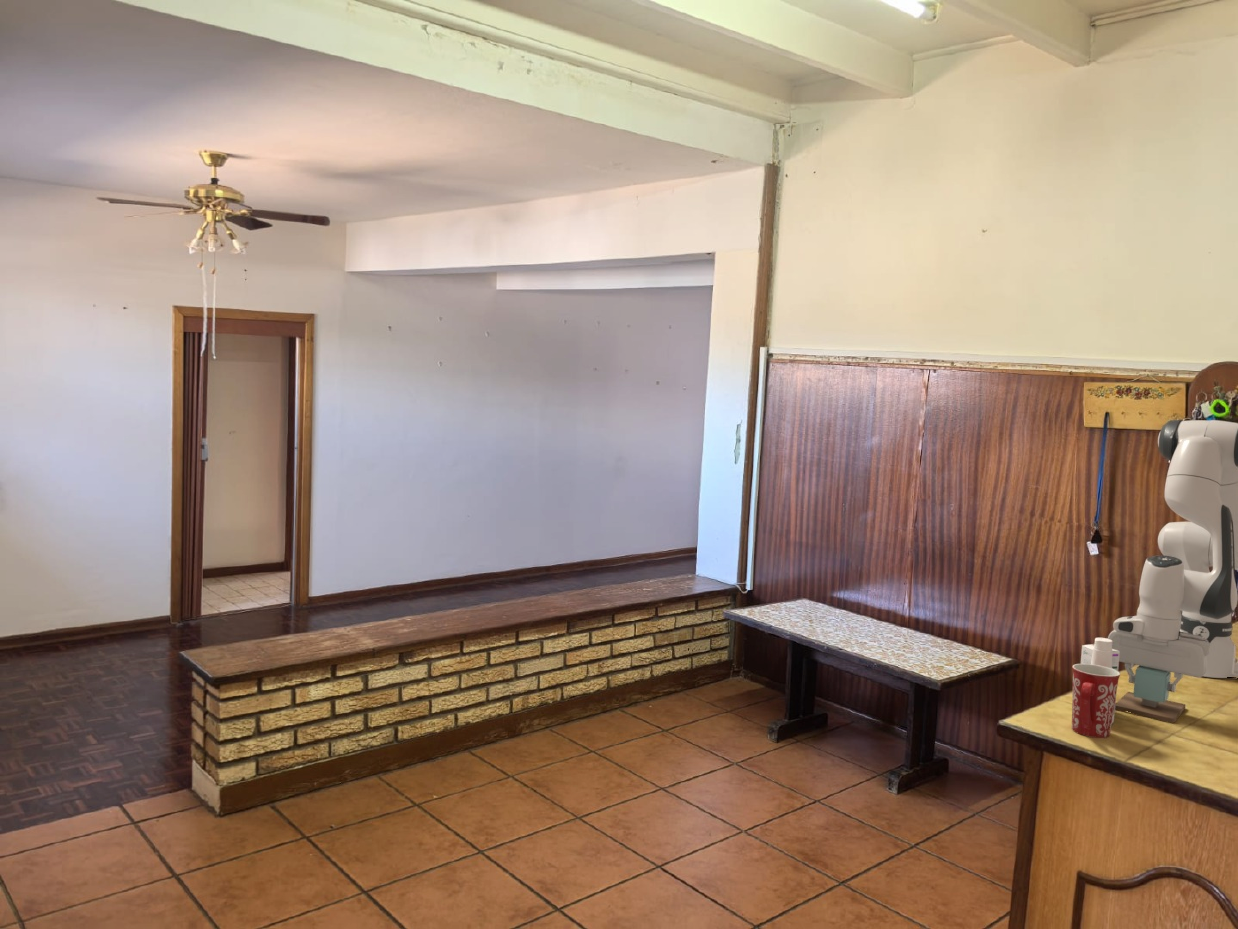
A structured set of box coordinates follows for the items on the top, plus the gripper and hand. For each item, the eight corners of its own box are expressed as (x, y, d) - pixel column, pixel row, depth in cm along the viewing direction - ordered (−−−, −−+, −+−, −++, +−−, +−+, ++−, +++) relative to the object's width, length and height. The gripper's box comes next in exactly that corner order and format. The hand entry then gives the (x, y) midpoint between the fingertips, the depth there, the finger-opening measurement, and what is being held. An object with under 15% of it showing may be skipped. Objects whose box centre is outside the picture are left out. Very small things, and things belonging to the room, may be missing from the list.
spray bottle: (1117, 727, 206) (1125, 645, 204) (1083, 723, 207) (1091, 642, 206) (1108, 716, 213) (1115, 637, 211) (1075, 712, 214) (1082, 634, 212)
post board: (1127, 695, 228) (1130, 667, 228) (1185, 708, 221) (1188, 679, 220) (1113, 709, 218) (1116, 680, 217) (1173, 723, 210) (1176, 693, 210)
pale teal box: (1138, 690, 223) (1141, 662, 223) (1169, 697, 219) (1172, 669, 219) (1132, 696, 218) (1134, 668, 218) (1163, 703, 214) (1166, 674, 214)
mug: (1073, 721, 209) (1079, 660, 207) (1119, 732, 203) (1125, 670, 201) (1055, 735, 199) (1061, 672, 198) (1102, 747, 193) (1108, 682, 192)
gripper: (1213, 634, 213) (1206, 695, 215) (1112, 616, 226) (1107, 673, 228) (1208, 639, 209) (1201, 701, 210) (1106, 621, 222) (1100, 679, 223)
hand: (1151, 687), depth 219 cm, fingers closed on pale teal box, 6 cm apart
